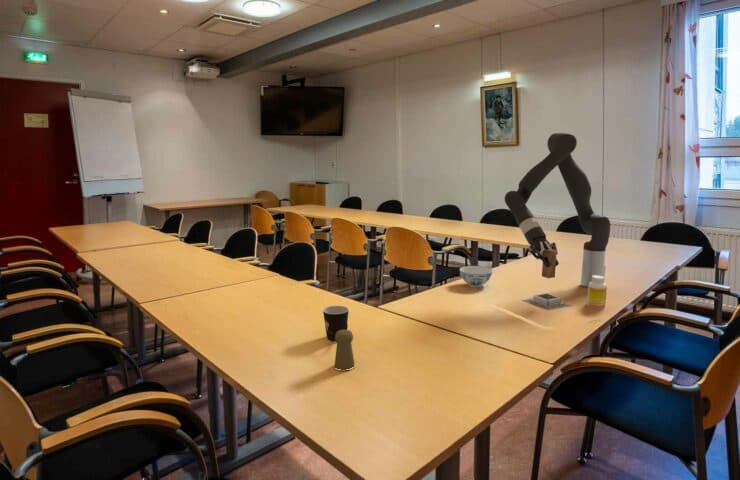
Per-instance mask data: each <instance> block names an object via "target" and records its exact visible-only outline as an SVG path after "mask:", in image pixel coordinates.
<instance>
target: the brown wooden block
mask: <svg viewBox="0 0 740 480" xmlns="http://www.w3.org/2000/svg"><path fill="white" fill-rule="evenodd" d="M557 252H558V250H557V251H556V250H552V249H546V250H544V253H545V255H546V257H547V258H548V260H549V262H550V263H551V266H550V267H548V268H547V267H546V266H545V265H544V263H543V262H542V269H541V277H543V278H546V279H552V278H556V268H557V266H556V259H557V255H556V253H557Z"/></svg>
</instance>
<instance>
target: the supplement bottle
mask: <svg viewBox="0 0 740 480" xmlns="http://www.w3.org/2000/svg"><path fill="white" fill-rule="evenodd" d="M605 278H606V277H603V276H598V275H593V276H592V278H591V279H592V282H590V283H589V284H588V287H587V299H586V306H588V307H590V308H593V309H603V308H606V301H607V289H608V286H607V284H606V283H605V280H606V279H605Z"/></svg>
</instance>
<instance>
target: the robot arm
mask: <svg viewBox="0 0 740 480" xmlns="http://www.w3.org/2000/svg"><path fill="white" fill-rule="evenodd" d="M577 140H578V139H577V137H576V136H575V135H574V134H572V133H570V132H569V133H568V132H555V133H552V134H551V135H549V137H548V139H547V143H546V144H547V149H548V151H549V153H548V154H547V156H546V157H545V158H544V159H542V160H540V161H539V162H538V163H537V164H535V165H534V166H532V168H530V169H529V170H528V171H527V173H526V174H525V175H524V176H523V177H522V178H521V180H520V181H519V183H518V188H517V190H510V191H508V192H506V194H505V195H504V203H505V205H506V206H507V207H508V209H509V211H510V212H511V214H512V215H513V217H514V218H515V221H516V223H517V225H518V226H519V229H520V231H521V233H522V235H523V237H524V238H525V240H526V241H527V243H528V244H529V246H528V248H526V249H527V251H528V252H529V253H530V254H531V255H532V256H533V257H534V258H535V259H536V260H540V261H542V264H543V263H544V265H545V266H546V267H547V268H548V267H550V266H551V263H550V262H549V260H548V258H547V257H546V255H545V253H544V250H546V249H552V250H556V251H557V253H556V256H557V255H558V248H557V245H556V244H557V243H555V242H550V241H548V239H547V234H546V233H545V231H544V230H543V228H542V227H541V225H540V223H539V222H538V220H537V219H536V218H535V216H534V214H533V213H532V212H531V210H530V209H529V207H528V206H527V203H528V201H529V199H530V197H531V196H532V193H533V192H534V191H535V190H536V189H537V188H538V186H539V185H540V184H541V183H542V182H543V181H544V179H545V178H546V177H547V176H548V175H549V174H550V173H551V172H552V171H553V170H554V169H555V168H556V167H557V168H558V169H559V173H560V174H561V177H562V180H563V181H564V184H565V187H566V189H567V191H568V193H569V195H570V198H571V200H572V203H573V205H574V208H575V210H576V214H577V216H578V221H579V224H580V227H581V229H582V231H583V232H585V233H586V234H589V235H591V238H590V240H589V241H586V242H584V244H583V249H582V250H583V251H582V264H581V277H580V285H581V286H582V287H586V288H588V284H589V283H590V282H592V279H591V278H592V276H593V275H598V276H603V277H605V276H606V265H605V264H606V263H605V261H606V249H607V246H608V244H609V238H610V233H611V222H610V219H609V217H607V216H605V215H600V214H596V213H595V212H594V210H593V208H592V205H591V196H592V186H591V183H590V180H589V178H588V176H587V174H586V172H585V171H584V170H583V169H582V168H581V167H580V166H579V164H577V162H576V160H575V159H574V158H573V156H572V153H573V152H574V151H575V149H576V147H577V143H578V141H577ZM559 265H560V262H559V261H558V259H557V258H556V267H557V266H559ZM605 278H606V277H605Z"/></svg>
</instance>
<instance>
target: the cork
mask: <svg viewBox="0 0 740 480" xmlns="http://www.w3.org/2000/svg"><path fill="white" fill-rule="evenodd" d="M353 339H354V335H353V332H352V331H351V330H348V329H347V330H340V331H338V332H337V333H336V334H335V340H336V342H335V343H336V348H335V349H336V350H335V357H334V366H335V368H337V369H341V370H346V369H350V368H352V367H354V365H355V366H356V364H355V357H354V352H353V344H352V342H353ZM335 368H334V369H335Z"/></svg>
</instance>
